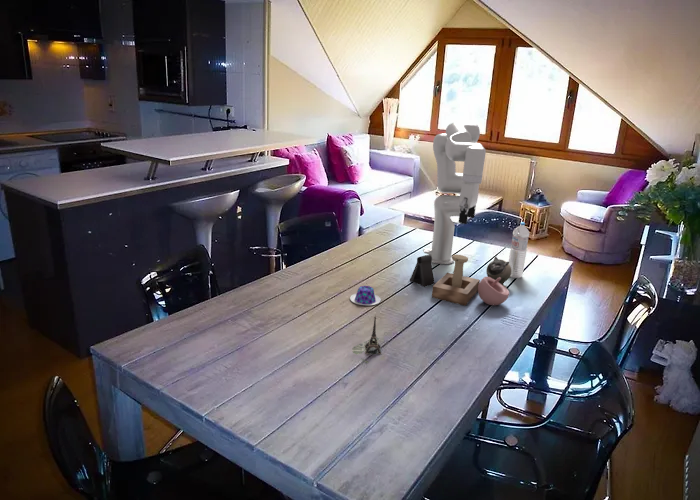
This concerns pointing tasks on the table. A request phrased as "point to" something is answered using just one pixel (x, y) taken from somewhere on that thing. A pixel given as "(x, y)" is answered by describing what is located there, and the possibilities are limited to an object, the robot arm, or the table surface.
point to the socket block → (455, 290)
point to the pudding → (365, 296)
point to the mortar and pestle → (492, 291)
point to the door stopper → (423, 271)
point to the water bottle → (518, 250)
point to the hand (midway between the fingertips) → (466, 220)
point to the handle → (458, 270)
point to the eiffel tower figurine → (369, 344)
